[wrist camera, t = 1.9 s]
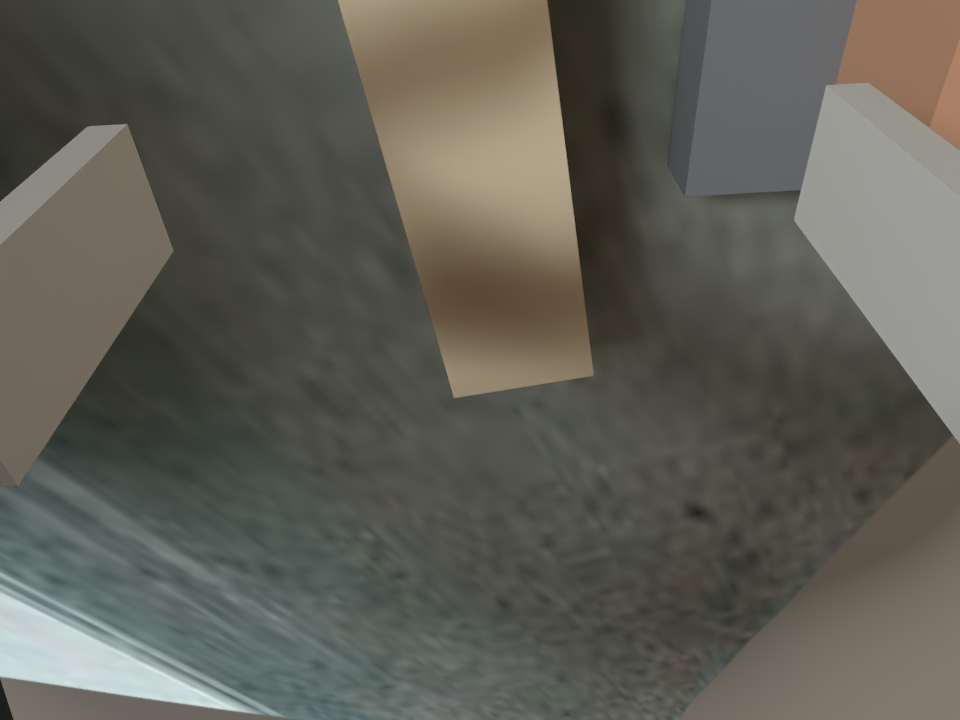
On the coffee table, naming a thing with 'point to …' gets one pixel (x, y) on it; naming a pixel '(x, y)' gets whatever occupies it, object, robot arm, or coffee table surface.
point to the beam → (479, 181)
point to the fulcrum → (799, 81)
